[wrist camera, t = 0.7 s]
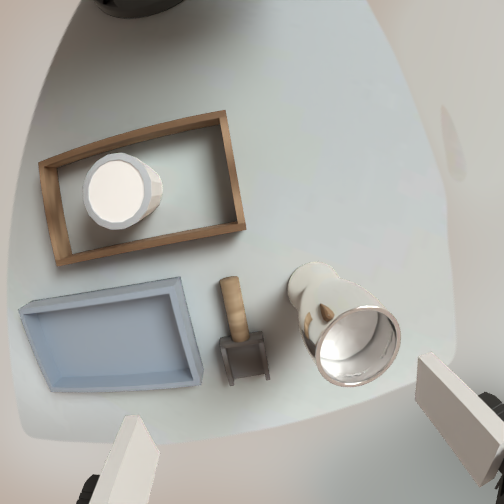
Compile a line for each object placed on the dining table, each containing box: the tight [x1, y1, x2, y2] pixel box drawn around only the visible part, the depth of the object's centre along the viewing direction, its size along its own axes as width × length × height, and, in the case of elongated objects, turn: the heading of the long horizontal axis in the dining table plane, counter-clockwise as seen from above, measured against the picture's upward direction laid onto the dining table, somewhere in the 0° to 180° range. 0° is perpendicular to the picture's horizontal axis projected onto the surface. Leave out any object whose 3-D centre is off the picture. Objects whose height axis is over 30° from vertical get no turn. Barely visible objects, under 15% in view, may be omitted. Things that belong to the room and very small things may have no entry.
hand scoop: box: [220, 276, 270, 386], centre depth 35 cm, size 13×5×2 cm, turn 10°
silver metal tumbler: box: [287, 262, 401, 387], centre depth 28 cm, size 7×7×15 cm
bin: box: [18, 277, 204, 392], centre depth 34 cm, size 12×21×4 cm, turn 100°
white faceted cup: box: [83, 153, 163, 230], centre depth 29 cm, size 7×7×7 cm
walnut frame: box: [38, 110, 246, 266], centre depth 31 cm, size 12×21×3 cm, turn 100°
